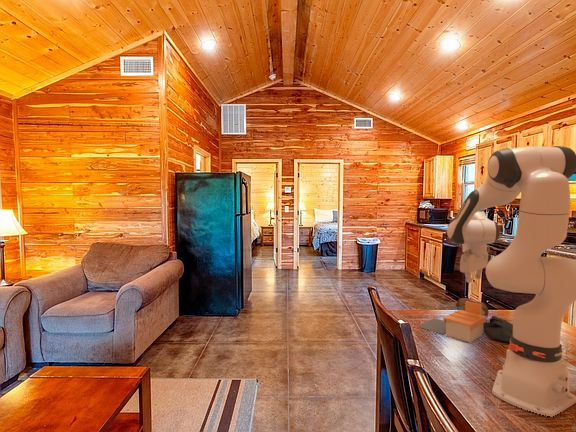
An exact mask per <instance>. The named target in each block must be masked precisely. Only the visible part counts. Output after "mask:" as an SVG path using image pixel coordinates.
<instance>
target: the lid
mask: <svg viewBox="0 0 576 432" xmlns="http://www.w3.org/2000/svg"><path fill="white" fill-rule="evenodd" d="M481 311H482V304H478V303H473V302H469V301H466V302H465V311H463V310H457V311H454V312H452V313H449V314H448V315H446V316H443V319H442V320H443V323H446V320H447V321H451V322H455V323H458V324H462V325H466V326H469V327H470V331H472V330H473V329H475V328H476V327H478V326H480V325H481V324H483V323H485V322H487V318H486V316H484V315H481Z"/></svg>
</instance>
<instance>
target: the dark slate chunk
mask: <svg viewBox="0 0 576 432" xmlns="http://www.w3.org/2000/svg"><path fill="white" fill-rule="evenodd" d="M483 331H484V332H486V334H487V336H489V338H490V339H492V340H495V341H500V342H504V343H507V344H510V339H511V335H512V334H513V323H511V322H509V321H507V320H506V319H503V318H501V317H498V316H496V315H491V317H490V318H489V322H487V321H486V322H485V323H483Z"/></svg>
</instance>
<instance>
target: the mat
mask: <svg viewBox="0 0 576 432" xmlns="http://www.w3.org/2000/svg"><path fill="white" fill-rule="evenodd" d="M419 325H420V326H422V328H424V329H423V330H425V329H428V330H430V331H429V332H431V331H433V332H432V333H434V332H436V333H435V334H438V333H439V334H438V335H441V334H442V335H441V336H444V334H445V335H446V323H443V319H439V318H435V317H434V318H431V319H429V320H426V321H425V322H423V323H420V324H419ZM422 328H421V329H422ZM428 330H427V331H428Z"/></svg>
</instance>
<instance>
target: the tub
mask: <svg viewBox="0 0 576 432" xmlns="http://www.w3.org/2000/svg"><path fill="white" fill-rule="evenodd" d="M483 335H484V329H483V324H481V325H480V326H478V327H476V328H475V329H473V330H472V331H470V327H469V326H466V325H462V324H458V323H455V322H451V321H447V320H446V334H445V337H447V336H448V338H450V337H451V339H454V340H457V341H460V342H464V343H467V344H471V343H473V342H474V341H475V340H477V339H478V338H480V337H482V336H483Z"/></svg>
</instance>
